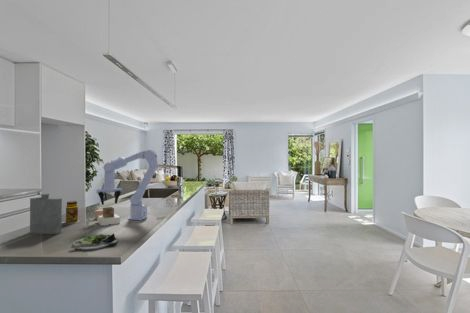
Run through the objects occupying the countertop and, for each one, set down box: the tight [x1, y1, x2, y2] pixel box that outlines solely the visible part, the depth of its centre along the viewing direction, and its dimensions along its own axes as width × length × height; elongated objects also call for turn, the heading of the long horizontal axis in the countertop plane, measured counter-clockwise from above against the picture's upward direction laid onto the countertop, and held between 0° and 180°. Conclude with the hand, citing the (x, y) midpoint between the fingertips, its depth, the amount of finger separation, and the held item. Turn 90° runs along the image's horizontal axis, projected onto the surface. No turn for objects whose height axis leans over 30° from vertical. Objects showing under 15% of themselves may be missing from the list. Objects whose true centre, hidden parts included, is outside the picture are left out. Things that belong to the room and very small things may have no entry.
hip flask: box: [29, 193, 63, 235], centre depth 144 cm, size 16×4×20 cm, turn 87°
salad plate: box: [69, 233, 119, 251], centre depth 127 cm, size 19×18×5 cm
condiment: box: [62, 200, 82, 224], centre depth 167 cm, size 7×8×12 cm
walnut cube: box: [102, 206, 115, 218], centre depth 166 cm, size 5×5×5 cm
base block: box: [97, 213, 121, 226], centre depth 166 cm, size 10×10×4 cm
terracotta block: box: [94, 208, 103, 220], centre depth 178 cm, size 5×5×5 cm
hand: (109, 203), depth 175 cm, fingers open, 7 cm apart
